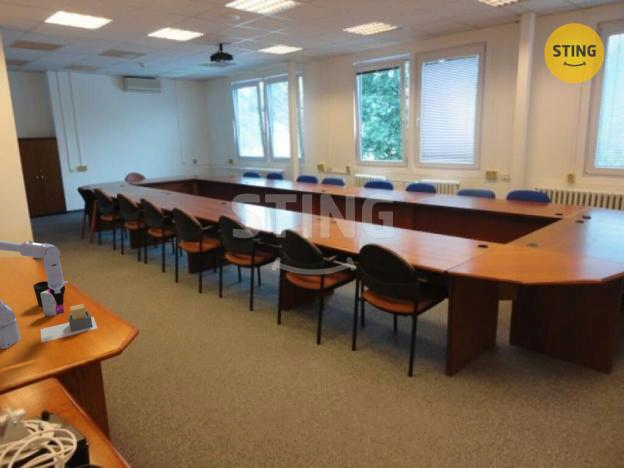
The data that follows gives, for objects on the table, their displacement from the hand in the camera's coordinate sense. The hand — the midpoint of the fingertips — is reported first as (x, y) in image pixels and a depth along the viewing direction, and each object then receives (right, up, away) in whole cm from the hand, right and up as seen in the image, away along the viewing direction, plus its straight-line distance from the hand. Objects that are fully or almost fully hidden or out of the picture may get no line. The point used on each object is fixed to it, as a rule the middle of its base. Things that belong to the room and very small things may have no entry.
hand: (60, 304), depth 183 cm
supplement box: (-12, -7, +16) cm, 21 cm away
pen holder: (-23, -4, +30) cm, 37 cm away
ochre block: (+8, -6, 0) cm, 10 cm away
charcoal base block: (+8, -9, +1) cm, 12 cm away
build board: (+5, -11, -1) cm, 12 cm away
